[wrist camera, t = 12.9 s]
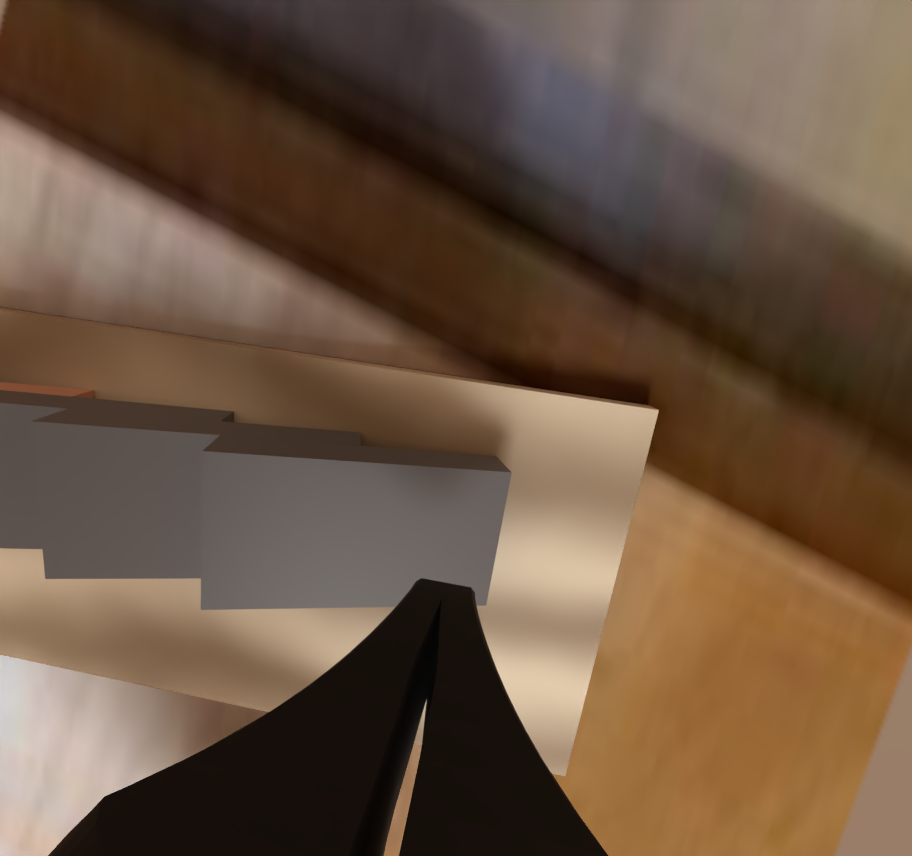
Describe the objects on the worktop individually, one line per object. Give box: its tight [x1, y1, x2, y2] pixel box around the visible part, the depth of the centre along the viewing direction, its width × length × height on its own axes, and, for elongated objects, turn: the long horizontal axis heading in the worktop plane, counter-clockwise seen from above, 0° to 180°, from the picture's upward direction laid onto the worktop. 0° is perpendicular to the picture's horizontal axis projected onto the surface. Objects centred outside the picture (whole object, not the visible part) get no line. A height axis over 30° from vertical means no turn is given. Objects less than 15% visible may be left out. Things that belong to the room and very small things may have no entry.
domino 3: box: [201, 435, 512, 610], centre depth 14 cm, size 2×5×9 cm
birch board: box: [0, 307, 659, 776], centre depth 18 cm, size 16×30×1 cm, turn 82°
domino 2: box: [31, 409, 361, 579], centre depth 14 cm, size 2×5×9 cm
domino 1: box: [0, 390, 234, 549], centre depth 15 cm, size 2×5×9 cm
